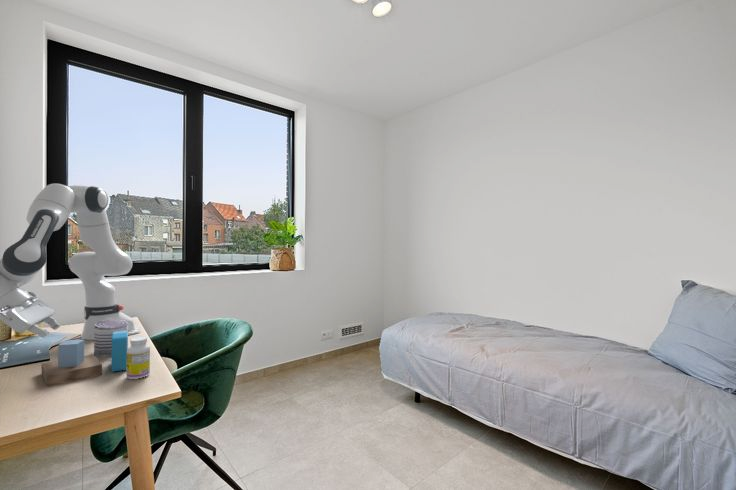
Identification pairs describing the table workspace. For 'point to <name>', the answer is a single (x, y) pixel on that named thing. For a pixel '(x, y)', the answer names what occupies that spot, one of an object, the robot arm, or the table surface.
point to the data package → (119, 351)
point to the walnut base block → (70, 371)
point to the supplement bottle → (138, 358)
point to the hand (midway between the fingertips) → (52, 331)
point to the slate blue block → (70, 353)
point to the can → (106, 335)
